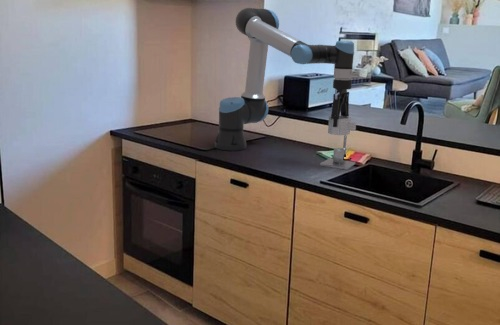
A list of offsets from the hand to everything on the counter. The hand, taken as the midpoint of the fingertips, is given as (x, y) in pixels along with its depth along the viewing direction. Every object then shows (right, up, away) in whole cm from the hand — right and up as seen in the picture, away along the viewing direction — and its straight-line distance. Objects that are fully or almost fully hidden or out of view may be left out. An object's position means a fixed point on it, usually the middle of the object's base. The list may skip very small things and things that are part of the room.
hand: (338, 132), depth 222 cm
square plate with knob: (0, -14, +3) cm, 14 cm away
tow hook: (+5, -11, +17) cm, 21 cm away
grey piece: (+1, 0, -1) cm, 1 cm away
